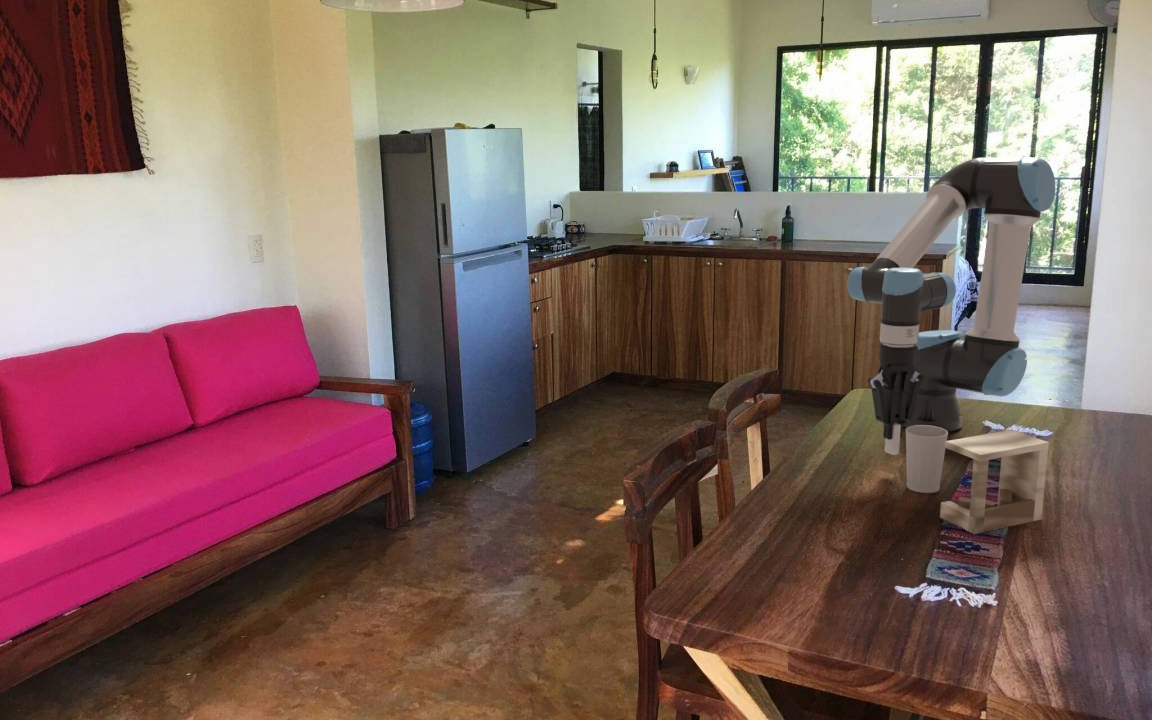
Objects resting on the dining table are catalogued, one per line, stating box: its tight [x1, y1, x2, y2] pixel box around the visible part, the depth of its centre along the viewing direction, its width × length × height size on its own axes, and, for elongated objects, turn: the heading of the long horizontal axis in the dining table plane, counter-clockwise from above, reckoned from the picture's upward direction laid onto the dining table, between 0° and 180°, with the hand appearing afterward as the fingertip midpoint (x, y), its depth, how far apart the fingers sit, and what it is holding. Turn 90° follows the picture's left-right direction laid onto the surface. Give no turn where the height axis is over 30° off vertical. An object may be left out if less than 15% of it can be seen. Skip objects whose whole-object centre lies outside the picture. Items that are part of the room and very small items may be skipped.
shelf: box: [939, 429, 1050, 535], centre depth 172 cm, size 8×16×15 cm, turn 112°
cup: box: [905, 425, 949, 494], centre depth 188 cm, size 8×8×12 cm
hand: (891, 452), depth 197 cm, fingers closed
